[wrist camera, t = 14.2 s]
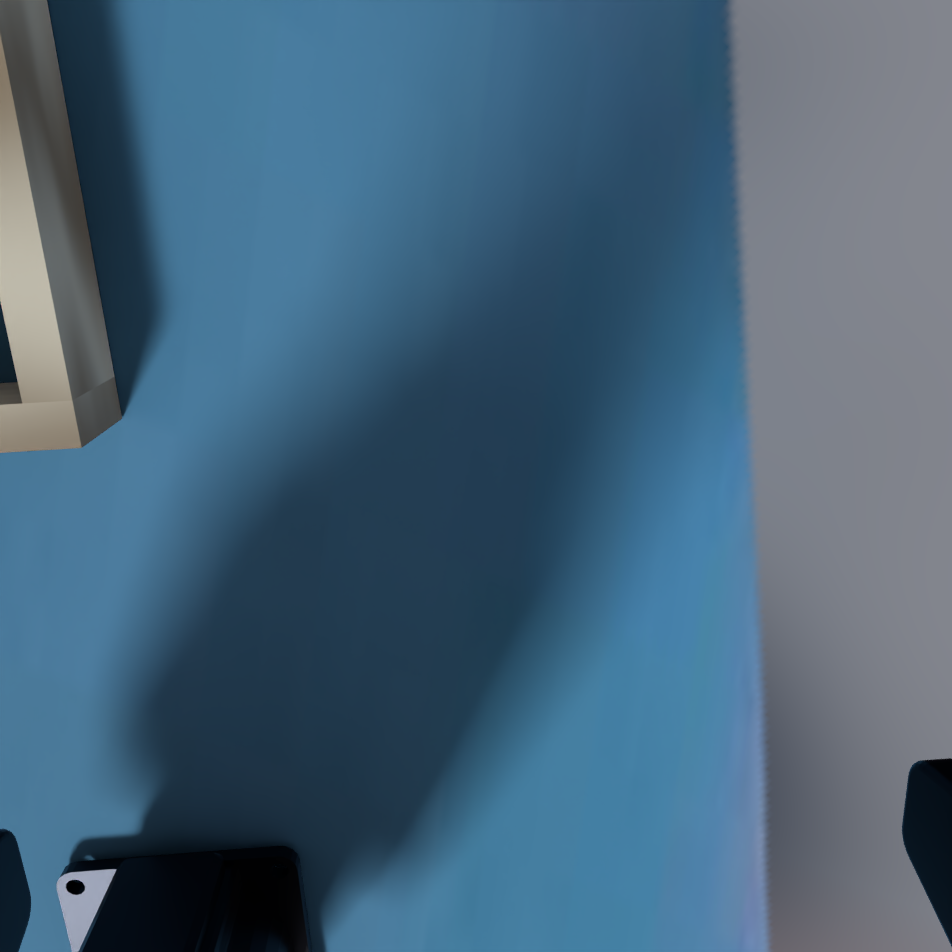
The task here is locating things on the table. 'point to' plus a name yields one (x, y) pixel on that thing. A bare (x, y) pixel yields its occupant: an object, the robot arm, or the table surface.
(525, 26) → the table surface
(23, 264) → the birch frame
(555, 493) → the table surface
